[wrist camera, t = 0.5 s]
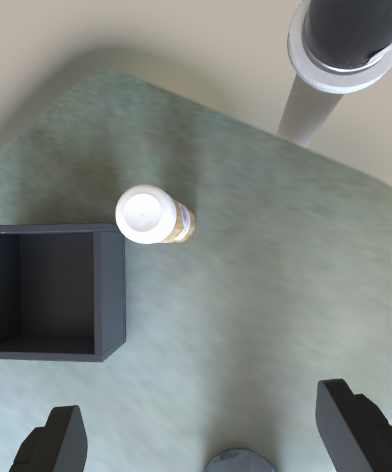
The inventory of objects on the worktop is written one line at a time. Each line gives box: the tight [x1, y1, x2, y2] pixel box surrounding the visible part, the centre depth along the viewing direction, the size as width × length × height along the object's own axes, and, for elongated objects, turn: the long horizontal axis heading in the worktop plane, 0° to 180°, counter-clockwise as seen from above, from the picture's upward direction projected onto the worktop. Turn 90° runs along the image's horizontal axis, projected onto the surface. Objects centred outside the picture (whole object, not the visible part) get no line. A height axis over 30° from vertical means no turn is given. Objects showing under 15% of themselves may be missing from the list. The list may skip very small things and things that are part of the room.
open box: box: [0, 223, 126, 362], centre depth 37 cm, size 14×14×7 cm
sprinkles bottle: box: [116, 184, 195, 243], centre depth 32 cm, size 5×5×14 cm
